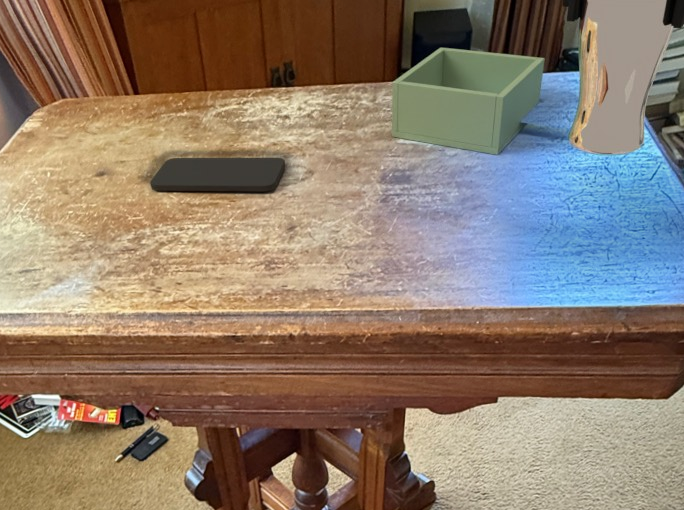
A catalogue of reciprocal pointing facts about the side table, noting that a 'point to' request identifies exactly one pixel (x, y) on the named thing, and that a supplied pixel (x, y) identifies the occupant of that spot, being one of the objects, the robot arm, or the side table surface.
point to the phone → (218, 174)
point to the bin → (466, 99)
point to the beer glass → (618, 71)
